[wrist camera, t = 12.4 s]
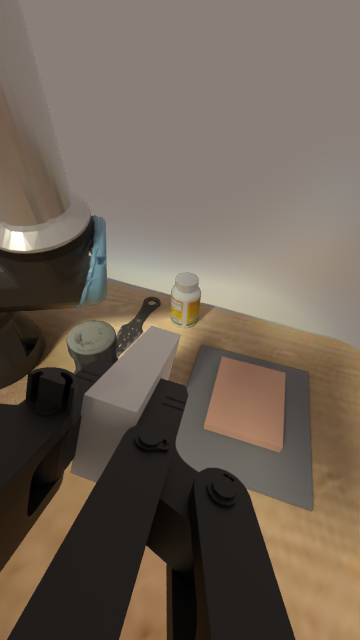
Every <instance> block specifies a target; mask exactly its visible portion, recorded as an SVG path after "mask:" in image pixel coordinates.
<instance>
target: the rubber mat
mask: <svg viewBox="0 0 360 640" xmlns="http://www.w3.org/2000/svg"><path fill="white" fill-rule="evenodd" d="M222 356H223V357H227V358H230V359H234V360H238V361H242V362H246V363H250V364H254V365H257V366H261V367H265V368H269V369H273V370H277V371H281V372H284V373H286V375H285V401H284V427H283V448H282V450H281V451H280V453H279V452H276V451H273V450H270V449H267V448H263V447H260V446H257V445H254V444H251V443H248V442H244V441H241V440H238V439H235V438H232V437H229V436H225V435H222V434H219V433H216V432H213V431H210V430H206V429H203V428H204V423H205V420H206V416H207V412H208V408H209V404H210V400H211V397H212V393H213V389H214V385H215V381H216V377H217V374H218V370H219V366H220V362H221V358H222ZM186 389H187V392H188V399H187V402H186V406H185V409H184V413H183V416H182V420H181V423H180V427H179V430H178V434H177V437H176V449H177V451H178V453H179V455H180V457H181V458H182V459H183V460H184V461H185V462H186V463H187V464H188V465H189V466H191V467H192V468H193V469H195V470H196V471H198V472H200V471H202V470H204V469H206V468H220V469H223V470H226V471H228V472H230V473H231V474H233V475H234V476H236V477H237V478H238V479H239V480H240V481H241V482H242V483H243V484H244V486H245V487H246V489H249V490H252V491H255V492H258V493H261V494H263V495H266V496H269V497H272V498H275V499H278V500H281V501H283V502H286V503H289V504H292V505H295V506H298V507H301V508H304V509H306V510H309V511H312V510H313V490H312V463H311V435H310V407H309V380H308V372H307V371H303V370H299V369H295V368H291V367H287V366H283V365H279V364H276V363H272V362H268V361H264V360H260V359H256V358H252V357H248V356H244V355H240V354H236V353H232V352H228V351H224V350H220V349H217V348H213V347H209V346H205V345H201V348H200V351H199V353H198V356H197V359H196V362H195V365H194V368H193V371H192V374H191V377H190V379H189V382H188V385H187V388H186Z"/></svg>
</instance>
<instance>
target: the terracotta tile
mask: <svg viewBox="0 0 360 640" xmlns="http://www.w3.org/2000/svg"><path fill="white" fill-rule="evenodd" d="M285 375H286V373H284V372H281V371H277V370H273V369H269V368H265V367H261V366H257V365H254V364H250V363H246V362H242V361H238V360H234V359H230V358H227V357H223V356H222V358H221V362H220V366H219V370H218V374H217V377H216V381H215V385H214V389H213V393H212V397H211V400H210V404H209V408H208V412H207V416H206V420H205V423H204V428H203V429H206V430H210V431H213V432H216V433H219V434H222V435H225V436H229V437H232V438H235V439H238V440H241V441H244V442H248V443H251V444H254V445H257V446H260V447H263V448H267V449H270V450H273V451H276V452H279V453H280V451H281V450H282V448H283V427H284V401H285Z"/></svg>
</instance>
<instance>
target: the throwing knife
mask: <svg viewBox="0 0 360 640" xmlns="http://www.w3.org/2000/svg"><path fill="white" fill-rule="evenodd" d="M149 301H155V302H157V303H156V304H154V305H149V304H148V302H149ZM159 306H160V300H159V299H157V298H155V297H148V298H146V299H145V300H144V303H143V306H142V308H141V310H140V312H139V313H138V314H137V316H136V317H135V318H134V319H133V320H132V321H131V322H130V323H128V324H126V325H123V326H122V327H121V329H120V330H119V332H118V334H117V336H116V337H117V348H118V345H120V344H121V346H120V347H119V348H118V349H117V348H116V355H117V357H118V356H119V355H120V354H121V353H122V352H124V351H125V350H126V349H127V348H128V347H129V346H130V345H131V344H132V343H133V342H134V341H135V340H136V339H137V338H138V337H139V336H140V335H141V334H142V333H143V330H142V324H143V322H144V321H145V319H146V318H147V317H148V315H149V314H150V313H151V312H152V311H153V310H155V309H156V308H157V307H159ZM132 328H133V330H131V329H132ZM129 333H130V335H127V334H129ZM124 339H125V341H123V340H124Z"/></svg>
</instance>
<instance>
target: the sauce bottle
mask: <svg viewBox="0 0 360 640" xmlns="http://www.w3.org/2000/svg"><path fill="white" fill-rule="evenodd" d="M67 346H68V351H69V354H70V356H71V357H72V358H73V359H74V362H75V365H76V370H75V372H74V375H75V374H76V373H77V372H79V371H81V369H82V368H83V367H85V366H86V365H87V364H88V363H91V362H94V361H97V360H103V361H106V362H110V363H113V364H115V363H116V362H117V361H118V358H117V355H116V348H117V337H116V333H115V330H114V328H113V327H112V326H111V325H110V324H108V323H106V322H103V321H95V320H92V321H86V322H83V323H82V324H79V325H77V326H75V327H74V328H73V329H72V330H71V331H70V333H69V334H68V337H67Z"/></svg>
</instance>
